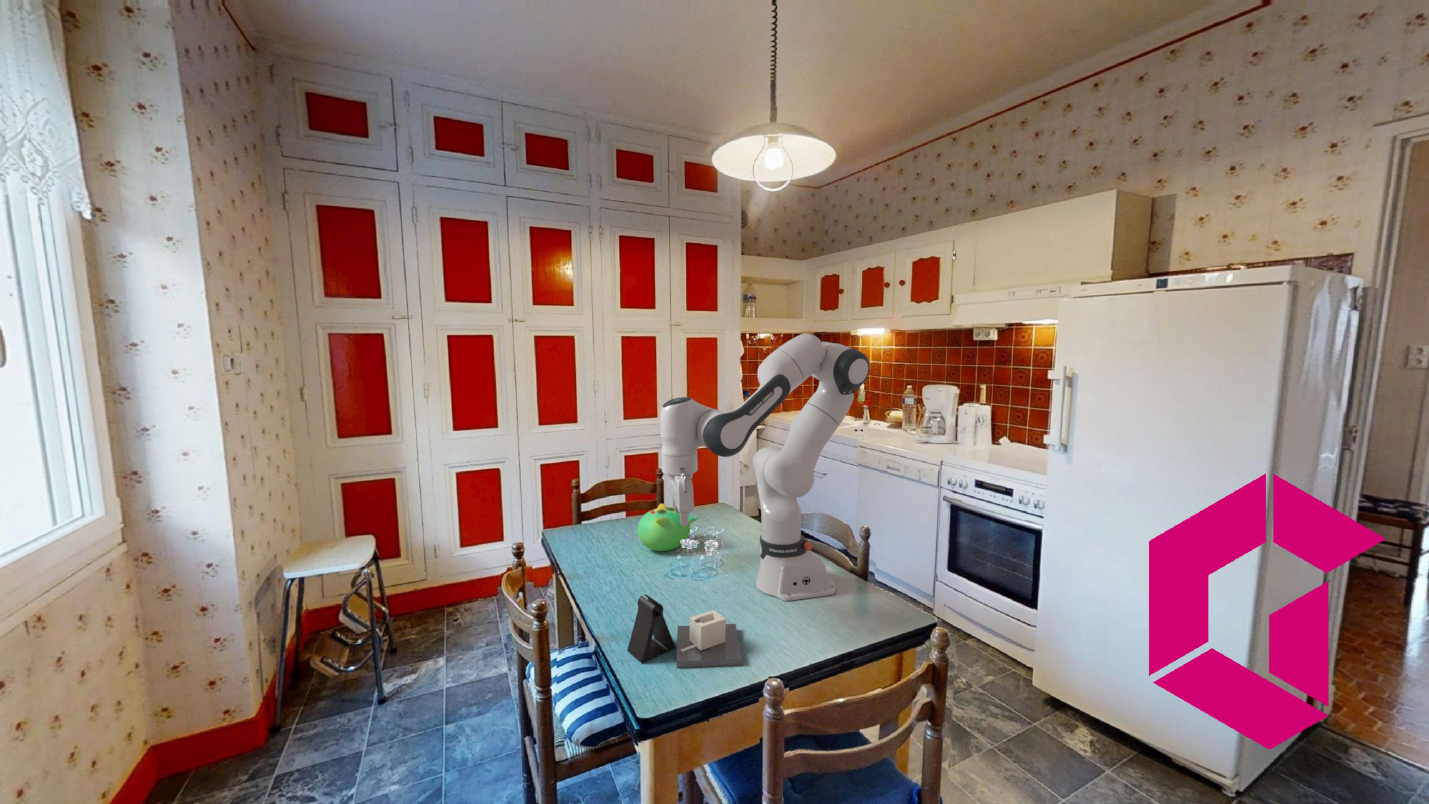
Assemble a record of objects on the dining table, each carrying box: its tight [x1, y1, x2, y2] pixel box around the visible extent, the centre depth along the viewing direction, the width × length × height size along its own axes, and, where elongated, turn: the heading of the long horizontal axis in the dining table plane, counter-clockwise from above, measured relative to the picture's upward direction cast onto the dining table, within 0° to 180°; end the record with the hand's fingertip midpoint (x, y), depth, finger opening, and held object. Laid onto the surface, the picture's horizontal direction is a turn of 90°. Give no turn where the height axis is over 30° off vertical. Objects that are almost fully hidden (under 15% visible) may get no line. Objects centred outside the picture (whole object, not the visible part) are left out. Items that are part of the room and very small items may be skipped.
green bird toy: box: [637, 503, 699, 552], centre depth 174 cm, size 18×17×15 cm
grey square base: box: [676, 621, 743, 669], centre depth 118 cm, size 14×14×6 cm
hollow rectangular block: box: [689, 609, 727, 651], centre depth 117 cm, size 7×5×6 cm
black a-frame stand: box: [626, 593, 676, 664], centre depth 117 cm, size 9×6×12 cm, turn 129°
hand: (681, 518), depth 128 cm, fingers open, 8 cm apart
